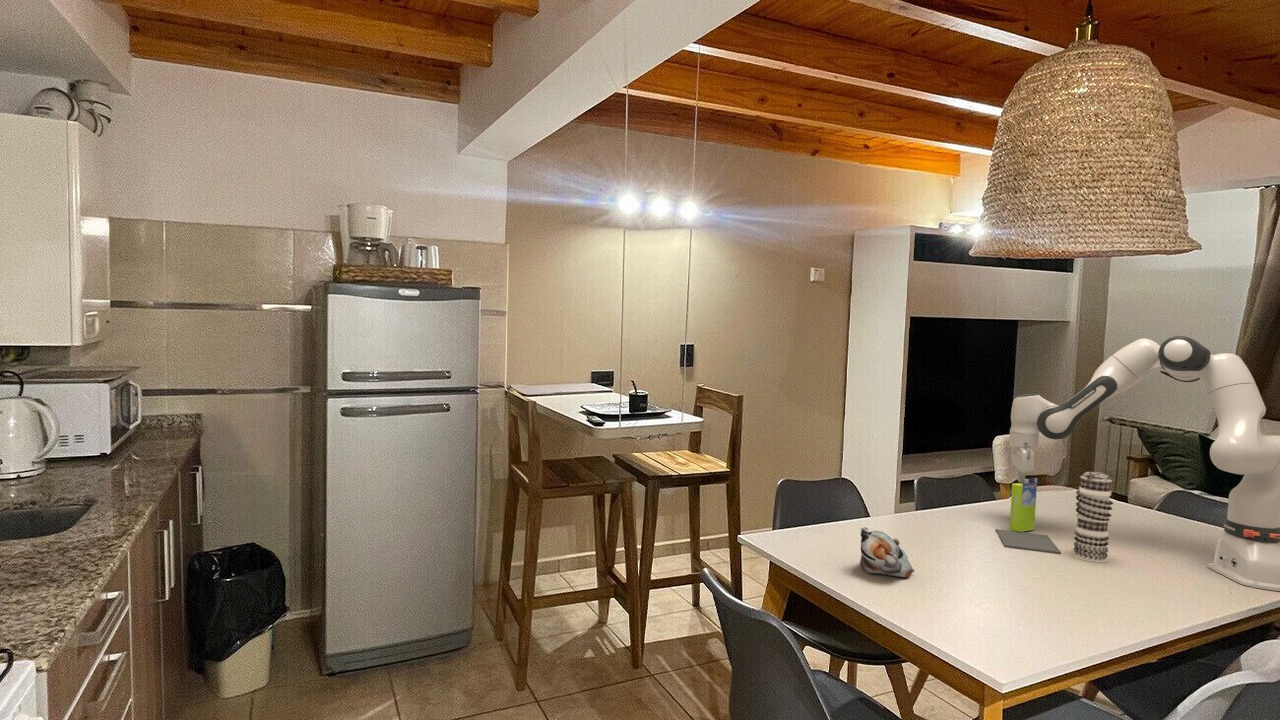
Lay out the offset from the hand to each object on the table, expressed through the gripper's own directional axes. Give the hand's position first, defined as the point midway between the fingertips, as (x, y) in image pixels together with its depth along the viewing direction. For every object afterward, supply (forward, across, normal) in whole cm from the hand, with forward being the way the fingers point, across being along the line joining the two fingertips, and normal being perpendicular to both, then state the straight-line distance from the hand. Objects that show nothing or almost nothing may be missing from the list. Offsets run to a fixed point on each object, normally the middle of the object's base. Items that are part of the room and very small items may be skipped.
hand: (1021, 481), depth 243 cm
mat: (+15, -22, +1) cm, 26 cm away
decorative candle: (+15, -31, -14) cm, 37 cm away
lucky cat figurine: (+15, -72, +43) cm, 85 cm away
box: (+15, -8, 0) cm, 17 cm away
